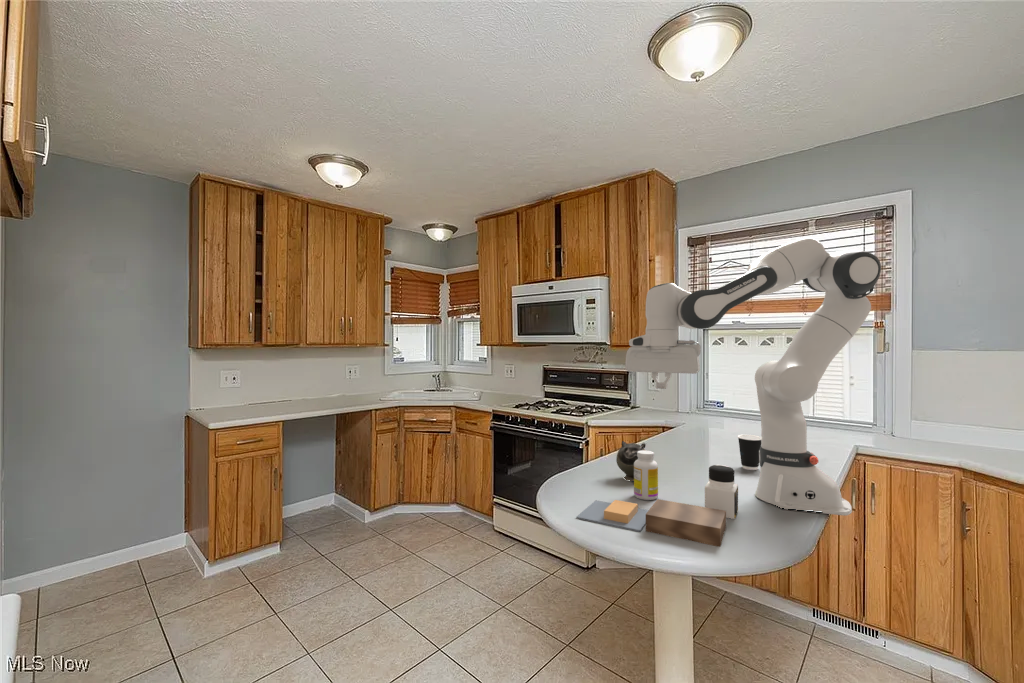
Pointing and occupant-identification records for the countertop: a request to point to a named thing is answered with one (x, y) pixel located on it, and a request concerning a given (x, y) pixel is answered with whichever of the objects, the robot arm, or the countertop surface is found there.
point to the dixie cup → (749, 451)
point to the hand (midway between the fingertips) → (661, 388)
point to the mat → (597, 515)
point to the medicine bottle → (722, 490)
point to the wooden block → (687, 522)
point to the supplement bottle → (645, 476)
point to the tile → (621, 511)
